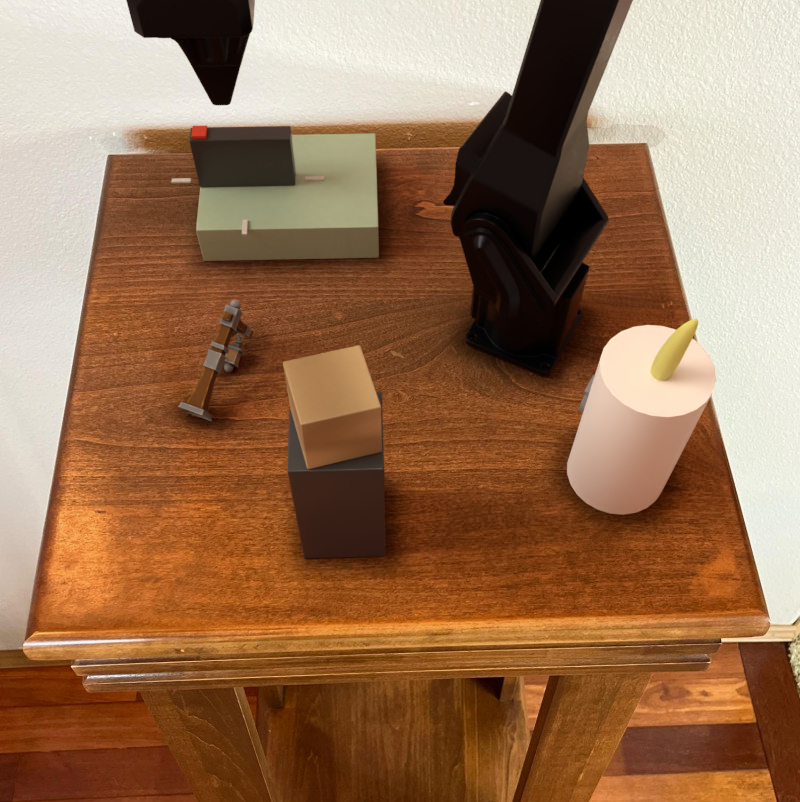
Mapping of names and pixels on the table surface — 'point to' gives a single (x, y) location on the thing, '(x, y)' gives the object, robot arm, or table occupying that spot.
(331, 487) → the stand
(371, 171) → the base
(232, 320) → the wooden lantern post
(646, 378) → the candle
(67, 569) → the table surface
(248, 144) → the dark grey panel
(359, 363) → the block
